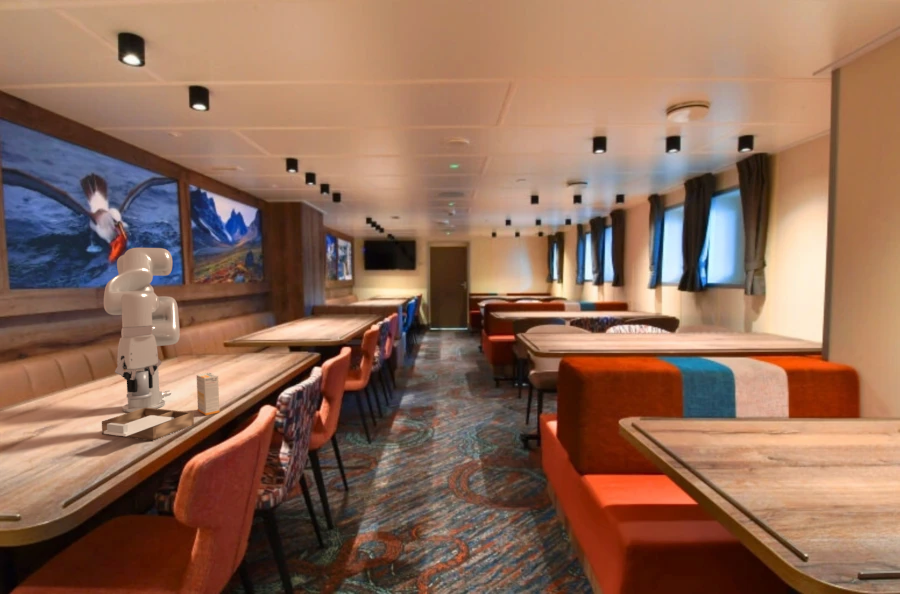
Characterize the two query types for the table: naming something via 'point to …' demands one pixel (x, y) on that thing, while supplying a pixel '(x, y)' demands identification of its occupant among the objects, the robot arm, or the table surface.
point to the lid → (135, 425)
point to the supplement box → (208, 393)
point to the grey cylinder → (141, 386)
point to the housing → (176, 423)
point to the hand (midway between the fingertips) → (140, 389)
